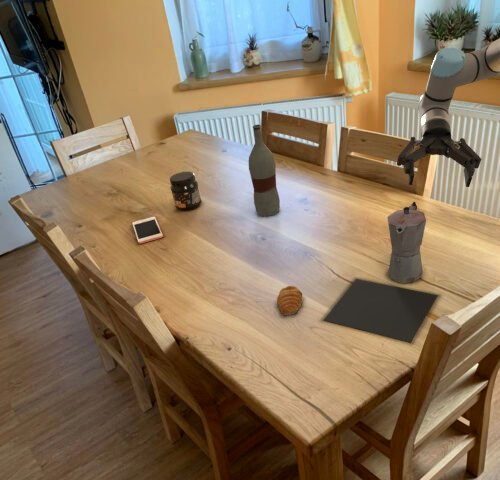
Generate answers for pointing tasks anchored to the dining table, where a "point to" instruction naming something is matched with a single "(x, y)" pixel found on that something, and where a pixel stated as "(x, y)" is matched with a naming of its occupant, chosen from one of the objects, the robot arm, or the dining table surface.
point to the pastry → (289, 300)
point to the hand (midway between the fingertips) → (440, 181)
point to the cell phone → (147, 230)
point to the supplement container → (185, 191)
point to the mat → (382, 309)
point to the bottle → (263, 177)
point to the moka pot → (406, 244)
